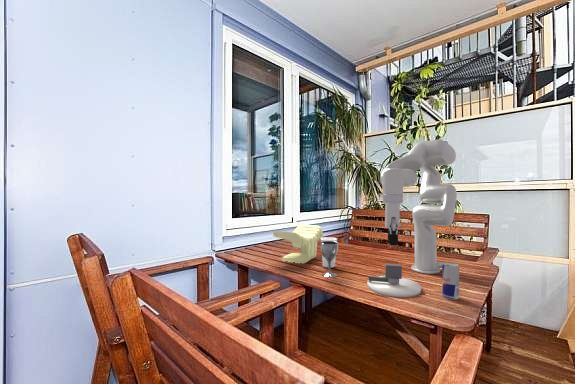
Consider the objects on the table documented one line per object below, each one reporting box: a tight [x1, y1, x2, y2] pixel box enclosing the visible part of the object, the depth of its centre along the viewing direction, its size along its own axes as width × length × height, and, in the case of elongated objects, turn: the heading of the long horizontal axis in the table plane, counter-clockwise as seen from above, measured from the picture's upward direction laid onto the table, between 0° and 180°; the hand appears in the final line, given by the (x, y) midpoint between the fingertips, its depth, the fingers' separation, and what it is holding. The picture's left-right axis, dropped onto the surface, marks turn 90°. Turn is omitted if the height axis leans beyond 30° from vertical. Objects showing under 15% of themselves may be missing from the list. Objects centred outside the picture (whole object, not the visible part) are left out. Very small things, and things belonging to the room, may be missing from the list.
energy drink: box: [441, 262, 460, 301], centre depth 101 cm, size 5×5×12 cm
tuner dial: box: [366, 275, 422, 298], centre depth 111 cm, size 20×20×2 cm
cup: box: [320, 236, 338, 268], centre depth 142 cm, size 8×8×14 cm
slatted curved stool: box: [272, 224, 324, 264], centre depth 156 cm, size 30×16×18 cm, turn 151°
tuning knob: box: [368, 263, 403, 284], centre depth 112 cm, size 12×4×7 cm, turn 73°
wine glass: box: [320, 241, 339, 278], centre depth 128 cm, size 8×8×15 cm
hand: (392, 242), depth 111 cm, fingers open, 9 cm apart
